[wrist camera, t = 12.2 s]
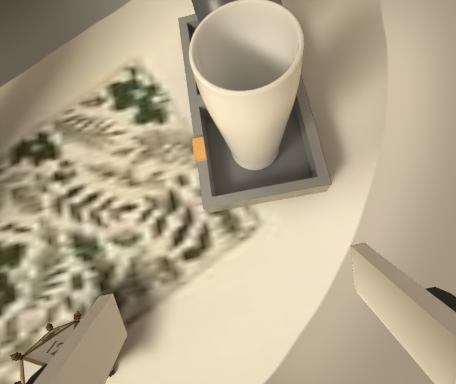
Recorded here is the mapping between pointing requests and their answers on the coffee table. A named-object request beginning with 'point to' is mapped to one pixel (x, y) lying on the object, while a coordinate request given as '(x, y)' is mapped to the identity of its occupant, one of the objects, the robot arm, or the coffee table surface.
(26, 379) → the game die
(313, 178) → the divided desk organizer
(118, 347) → the robot arm
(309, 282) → the coffee table surface
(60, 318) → the coffee table surface
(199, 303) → the coffee table surface
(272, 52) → the drinking glass
